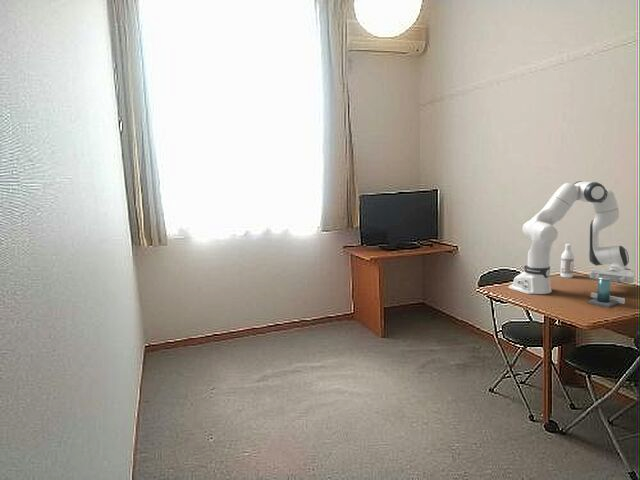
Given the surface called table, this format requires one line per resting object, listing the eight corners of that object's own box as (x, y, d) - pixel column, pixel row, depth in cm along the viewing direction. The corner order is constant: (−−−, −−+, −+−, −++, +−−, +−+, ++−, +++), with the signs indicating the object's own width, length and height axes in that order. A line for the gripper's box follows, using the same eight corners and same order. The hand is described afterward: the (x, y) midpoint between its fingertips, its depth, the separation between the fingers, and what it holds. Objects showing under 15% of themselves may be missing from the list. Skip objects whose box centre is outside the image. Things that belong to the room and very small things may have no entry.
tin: (594, 300, 246) (595, 277, 244) (600, 298, 249) (601, 275, 247) (606, 303, 242) (607, 279, 240) (611, 301, 245) (613, 277, 243)
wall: (590, 297, 256) (590, 292, 256) (591, 296, 257) (592, 292, 257) (623, 303, 243) (623, 299, 243) (624, 303, 244) (624, 298, 244)
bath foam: (569, 278, 294) (570, 245, 290) (558, 276, 300) (559, 244, 296) (575, 276, 298) (576, 244, 294) (564, 274, 303) (565, 242, 300)
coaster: (587, 303, 247) (587, 300, 247) (597, 299, 253) (597, 296, 252) (608, 307, 239) (608, 305, 239) (618, 303, 244) (618, 301, 244)
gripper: (593, 265, 269) (586, 271, 259) (636, 270, 256) (632, 276, 246) (592, 276, 270) (586, 282, 260) (636, 281, 257) (631, 288, 247)
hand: (608, 279), depth 253 cm, fingers open, 8 cm apart
